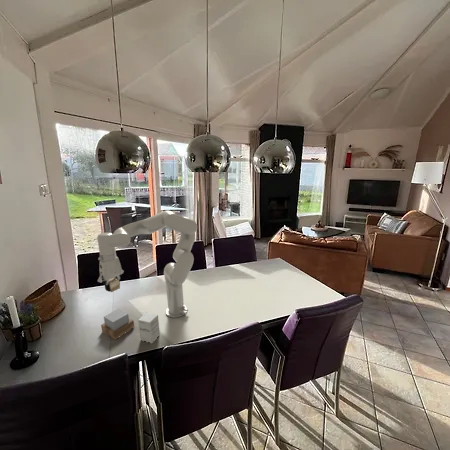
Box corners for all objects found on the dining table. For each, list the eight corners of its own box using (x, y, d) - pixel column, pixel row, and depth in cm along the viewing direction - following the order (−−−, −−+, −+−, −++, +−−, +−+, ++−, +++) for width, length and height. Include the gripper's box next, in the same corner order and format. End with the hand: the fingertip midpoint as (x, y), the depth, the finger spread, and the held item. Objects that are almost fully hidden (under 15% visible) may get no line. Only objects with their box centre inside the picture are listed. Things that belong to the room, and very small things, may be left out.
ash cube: (120, 288, 138) (118, 279, 137) (111, 292, 134) (110, 283, 133) (114, 286, 141) (113, 277, 140) (106, 289, 137) (104, 281, 136)
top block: (129, 321, 143) (128, 313, 141) (114, 330, 136) (113, 322, 134) (119, 316, 148) (118, 308, 146) (104, 324, 141) (103, 316, 139)
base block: (134, 328, 145) (133, 320, 144) (115, 340, 135) (114, 332, 134) (121, 321, 151) (120, 314, 150) (102, 333, 142) (101, 325, 140)
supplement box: (140, 341, 134) (137, 319, 130) (149, 332, 140) (146, 311, 137) (152, 344, 131) (149, 322, 128) (160, 335, 138) (158, 314, 135)
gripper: (96, 263, 124) (102, 297, 129) (127, 252, 138) (130, 283, 142) (88, 260, 128) (93, 293, 133) (118, 250, 142) (122, 280, 146)
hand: (113, 288), depth 137 cm, fingers closed on ash cube, 5 cm apart
